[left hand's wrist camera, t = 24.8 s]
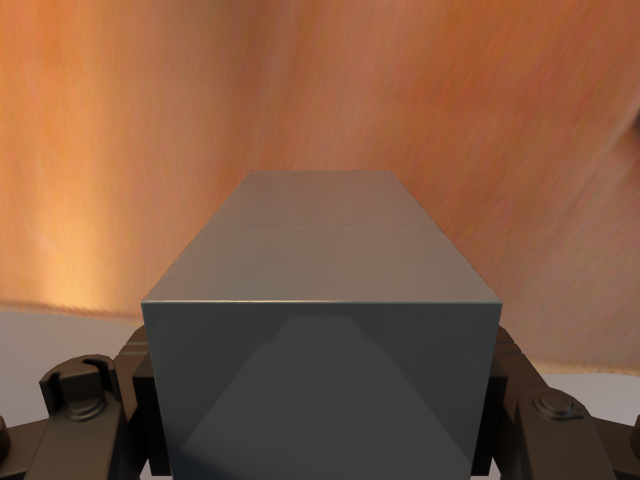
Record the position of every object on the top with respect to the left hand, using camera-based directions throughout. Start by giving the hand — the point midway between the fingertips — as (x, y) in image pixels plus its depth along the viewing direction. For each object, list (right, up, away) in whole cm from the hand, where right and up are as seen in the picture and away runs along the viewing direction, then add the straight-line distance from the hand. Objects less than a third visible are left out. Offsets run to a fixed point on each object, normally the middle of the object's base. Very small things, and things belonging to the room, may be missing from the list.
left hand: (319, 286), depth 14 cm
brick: (0, +1, +4) cm, 4 cm away
